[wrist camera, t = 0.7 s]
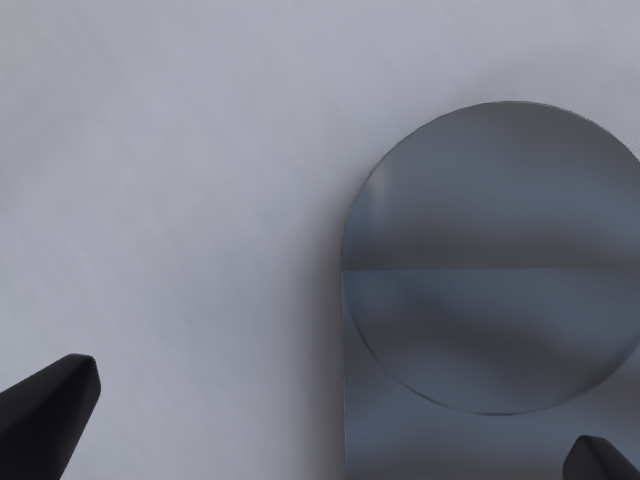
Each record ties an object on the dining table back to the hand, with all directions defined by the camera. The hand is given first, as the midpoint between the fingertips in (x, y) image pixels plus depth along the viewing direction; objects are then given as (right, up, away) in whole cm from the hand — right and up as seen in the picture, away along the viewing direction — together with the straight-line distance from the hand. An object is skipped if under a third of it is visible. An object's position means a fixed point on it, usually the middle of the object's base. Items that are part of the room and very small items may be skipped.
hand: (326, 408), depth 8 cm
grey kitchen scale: (+8, -4, +14) cm, 16 cm away
